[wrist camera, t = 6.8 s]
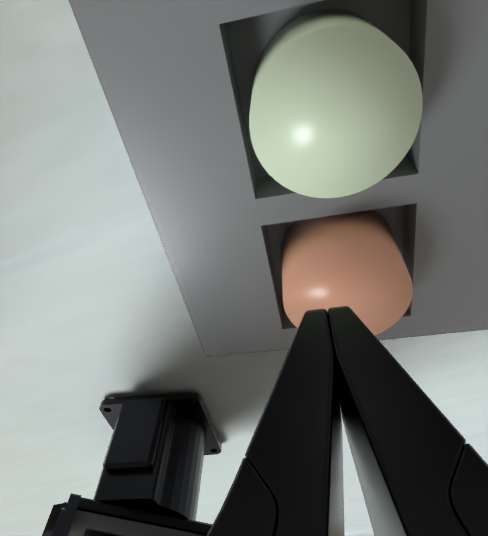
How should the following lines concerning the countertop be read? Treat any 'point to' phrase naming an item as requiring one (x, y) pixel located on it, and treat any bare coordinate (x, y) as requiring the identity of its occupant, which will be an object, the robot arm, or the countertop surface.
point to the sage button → (333, 105)
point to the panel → (269, 190)
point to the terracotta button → (345, 269)
